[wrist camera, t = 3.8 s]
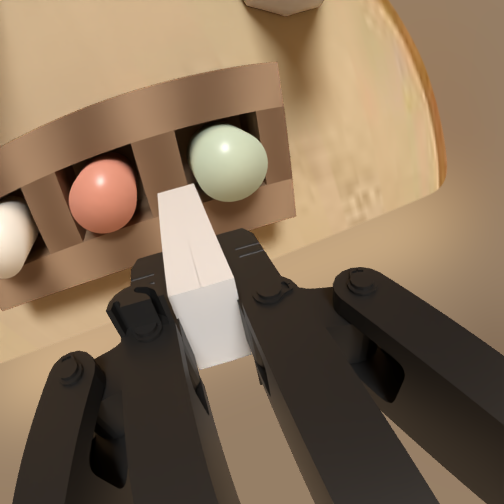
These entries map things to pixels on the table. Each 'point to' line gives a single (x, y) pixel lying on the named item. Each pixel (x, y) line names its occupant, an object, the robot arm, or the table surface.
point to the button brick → (104, 193)
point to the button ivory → (15, 234)
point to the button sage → (226, 161)
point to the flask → (284, 5)
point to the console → (140, 172)
